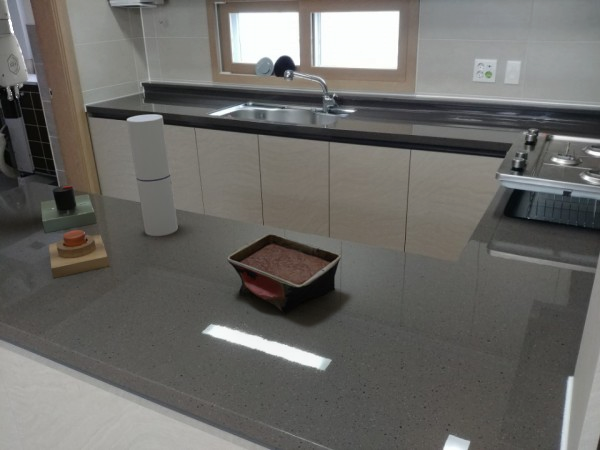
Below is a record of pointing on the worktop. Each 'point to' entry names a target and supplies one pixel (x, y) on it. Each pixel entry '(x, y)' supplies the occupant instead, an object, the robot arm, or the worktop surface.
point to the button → (74, 238)
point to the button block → (78, 257)
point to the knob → (64, 197)
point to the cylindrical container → (153, 174)
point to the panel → (67, 215)
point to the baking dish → (284, 270)
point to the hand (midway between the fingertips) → (13, 117)
